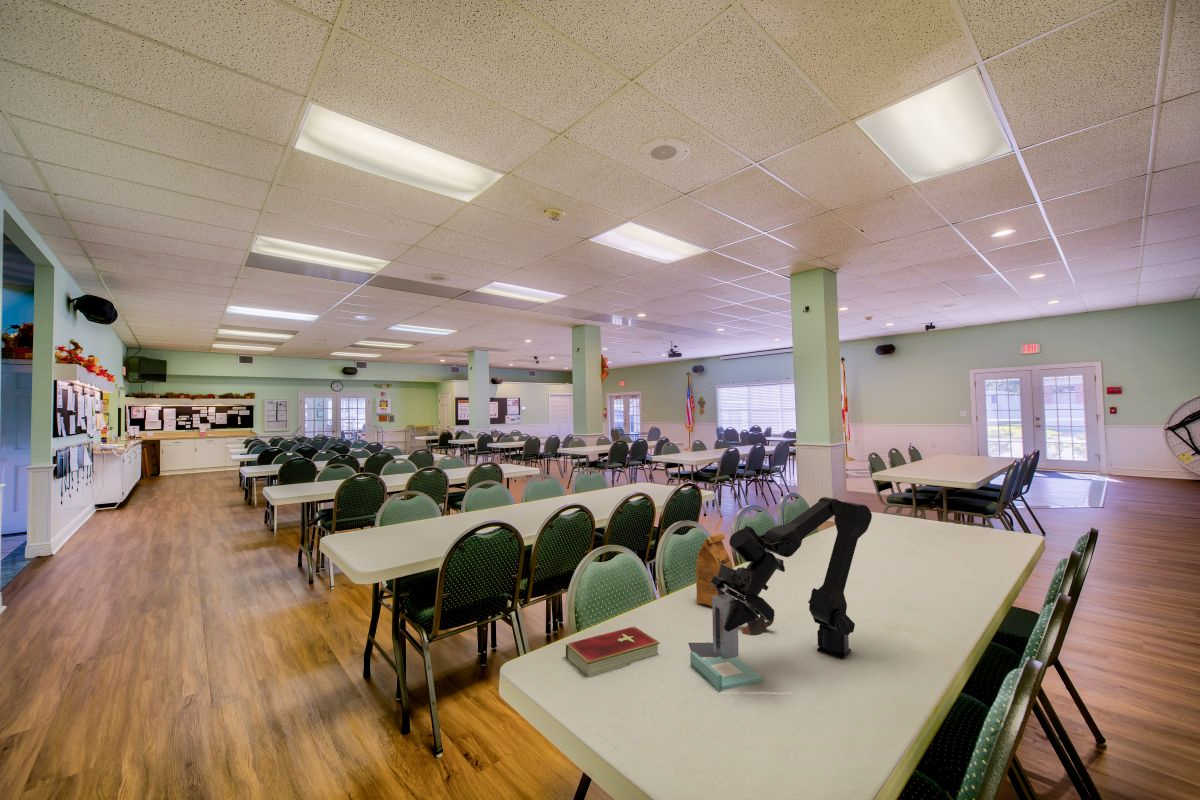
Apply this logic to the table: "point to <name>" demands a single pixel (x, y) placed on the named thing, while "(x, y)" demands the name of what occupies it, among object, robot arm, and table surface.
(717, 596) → the grey tower block
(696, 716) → the table surface
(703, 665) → the teal base plate
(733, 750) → the table surface
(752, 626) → the pottery mug
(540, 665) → the table surface
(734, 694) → the table surface
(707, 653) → the mat
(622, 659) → the hardcover book
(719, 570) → the robot arm
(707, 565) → the coffee package
